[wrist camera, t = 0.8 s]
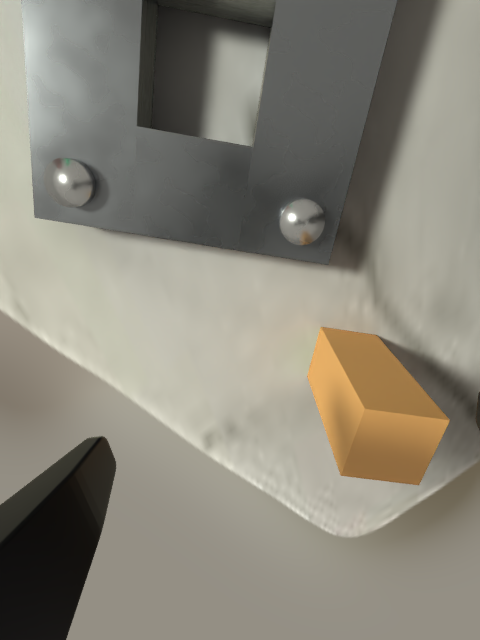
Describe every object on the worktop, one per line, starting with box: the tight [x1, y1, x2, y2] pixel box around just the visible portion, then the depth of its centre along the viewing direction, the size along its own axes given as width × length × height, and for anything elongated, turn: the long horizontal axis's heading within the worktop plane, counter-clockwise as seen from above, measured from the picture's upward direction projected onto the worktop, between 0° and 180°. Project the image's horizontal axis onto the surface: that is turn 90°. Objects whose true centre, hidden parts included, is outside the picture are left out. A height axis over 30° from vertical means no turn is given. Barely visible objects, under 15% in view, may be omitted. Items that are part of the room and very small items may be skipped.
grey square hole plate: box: [21, 0, 397, 265], centre depth 15 cm, size 14×14×3 cm
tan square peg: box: [307, 327, 450, 485], centre depth 18 cm, size 4×4×8 cm
